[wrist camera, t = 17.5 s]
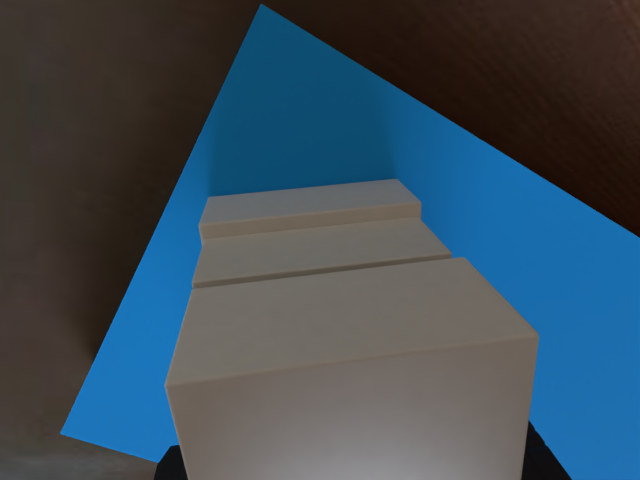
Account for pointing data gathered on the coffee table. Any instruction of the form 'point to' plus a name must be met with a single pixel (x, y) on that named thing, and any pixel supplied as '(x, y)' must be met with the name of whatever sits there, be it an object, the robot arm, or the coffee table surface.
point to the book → (436, 212)
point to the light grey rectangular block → (312, 232)
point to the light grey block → (354, 377)
